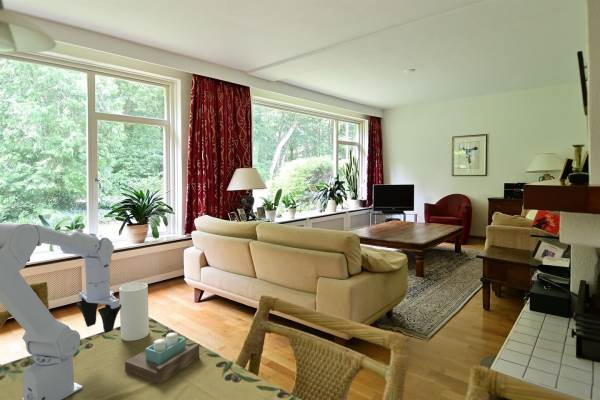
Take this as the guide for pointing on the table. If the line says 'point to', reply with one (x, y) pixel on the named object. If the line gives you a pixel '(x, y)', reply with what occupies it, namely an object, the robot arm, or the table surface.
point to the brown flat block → (166, 369)
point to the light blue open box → (165, 349)
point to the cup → (134, 311)
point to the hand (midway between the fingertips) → (99, 328)
